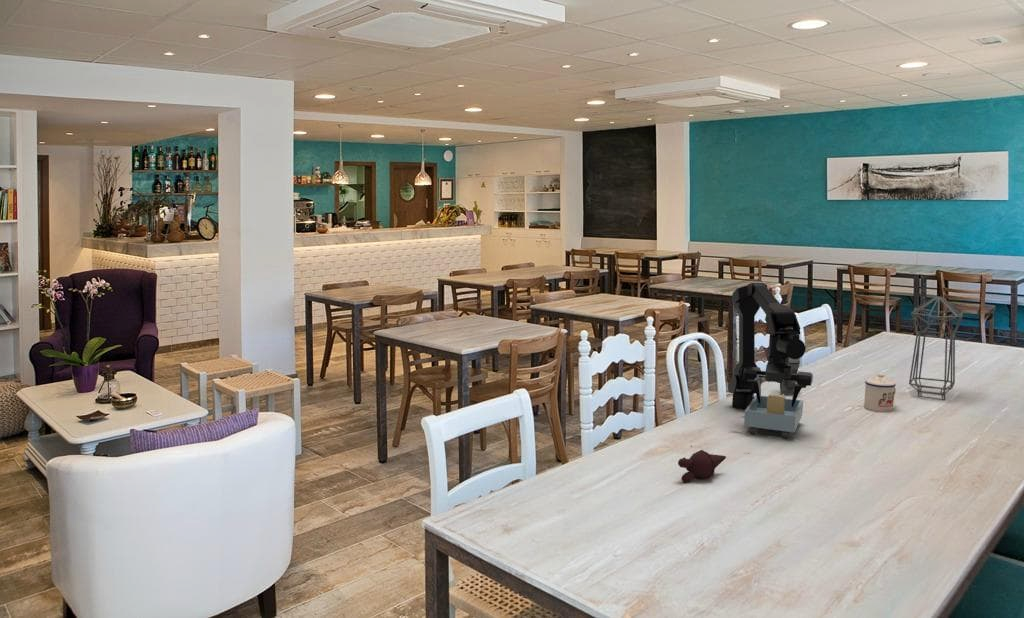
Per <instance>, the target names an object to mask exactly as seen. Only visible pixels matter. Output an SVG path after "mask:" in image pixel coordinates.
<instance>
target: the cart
mask: <svg viewBox="0 0 1024 618" xmlns="http://www.w3.org/2000/svg"><path fill="white" fill-rule="evenodd" d="M768 396H769V395H761V402H760V403H758V399H757V396H756V395H754V399H753V400H752V401H751V403H750V404H749V406H748V407H747V408H746V410H744V416H745V418H743V420H744V421H743V422H744V423H743V426H745V427H748V429H747V431H748V432H747V433H750V434H752V435H751V436H754V434H758V433H757V432H758V429H763V430H773V431H779V432H780V431H781V434H780V435H781V436H780V437H782V438H784V439H788V438H789V439H791V435H792V433H795V432H796V431H797V427H798V426H799V425H798V423H800V421H801V419H802V416H803V408H804V400H802V399H796V401H795V404H794V406H793V407H792V399H793V398H786V397H785V410H784V415H783V414H775V413H767V398H768Z"/></svg>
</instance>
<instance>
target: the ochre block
mask: <svg viewBox="0 0 1024 618" xmlns="http://www.w3.org/2000/svg"><path fill="white" fill-rule="evenodd" d="M767 396H768V398H767V413H775V414H783V415H784V410H785V398H786V395H777V394H768V395H767Z"/></svg>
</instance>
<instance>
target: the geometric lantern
mask: <svg viewBox="0 0 1024 618" xmlns="http://www.w3.org/2000/svg"><path fill="white" fill-rule="evenodd" d="M933 302H934V304H933V306H932V307H931V309H926V307H928V306H929V305H930V304H932V303H933ZM941 305H942V308H943V310H944V311H940V310H941V309H940V308H941V307H940V306H941ZM935 307H936V308H935ZM946 308H947V309H948V310H947V309H946ZM934 309H935V310H934ZM919 312H923V313H919ZM932 313H935V315H932ZM948 313H950V314H949V315H947V314H948ZM941 314H944V316H940V315H941ZM963 314H964V310H962V309H960V308H959V307H957V306H956V305H954V304H953V303H951V302H950V301H948V300H947V299H945V298H944V297H943V296H934V297H932V298H930V299H929V300H927V301H925V302H923V303H921V304H920V305H918V306H916V307H914V308H913V311H912V312H911V313H910V315H911V317H912V319H913V322H914V328H915V330H914V331H915V341H914V342H915V343H914V348H913V355H912V361H911V366H910V367H911V368H910V374H909V381H908V385H910V386H911V387H912V388H914V389H915V390H916V391H917V394H916V395H917V397H920V398H925V399H932V400H933V399H934V400H940V401H945V400H946V394H947V393H948V392H949V391H950V390H952V389H953V388H954V386H955V381H956V368H955V367H956V334H957V332H958V330H959V327H960V325H961V324H962V320H963ZM922 316H924V317H927V320H925V319H924V318H923V317H922ZM918 318H919V319H920V320H921V321H923V323H926V324H927V326H926V327H925V328H924V329H923V330H922V327H921V325H920V322H919V320H918ZM930 318H932V321H931V320H930ZM957 318H958V320H957V322H956V327H955V329H954V331H953V332H952V330H951V328H950V327H949V325H948V323H947V322H949V321H953V320H955V319H957ZM935 320H937V323H934V321H935ZM940 321H941V322H940ZM944 323H945V325H946V327H947V329H948V330H949V332H946V331H945V330H944V329H943V327H942V324H944ZM917 324H918V326H919V329H920V330H918V327H917ZM931 326H939V328H940V329H941V332H940V331H939V332H938V331H931V330H929V328H930V327H931ZM928 330H929V331H928ZM926 333H932V334H943V335H944V337H943V336H932V335H926ZM922 334H923V335H922ZM947 335H950V337H948V336H947ZM921 337H923V339H922V347H921V348H922V350H921V356H920V346H921ZM926 338H935V339H945V348H944V349H945V351H944V379H939V378H938V379H937V378H929V377H928V378H926V377H921V375H922V367H923V360H924V351H925V344H926V343H925V342H926ZM948 340H949V348H948ZM948 349H949V350H948ZM919 357H920V359H919ZM919 360H920V361H919ZM947 361H948V362H947ZM919 362H920V364H919ZM918 373H919V374H918ZM949 378H950V379H949ZM921 380H924V381H925V380H926V381H934V382H943V386H942V387H939V386H931V385H926V384H925V385H923V384H922V382H921ZM913 381H914V383H913ZM918 383H919V384H918ZM948 383H950V384H949V385H948V386H947V384H948ZM922 388H923V389H924V388H925V389H937V390H940V392H934V391H933V392H932V391H925V390H922ZM923 393H925V394H931V395H939V396H941V397H933V396H924V395H922V394H923Z"/></svg>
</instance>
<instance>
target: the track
mask: <svg viewBox="0 0 1024 618" xmlns="http://www.w3.org/2000/svg"><path fill="white" fill-rule="evenodd" d="M735 417H736V418H742V419H744V418H745V415H738V414H737V415H735ZM798 426H806V424H805V423H800V422H799V423H798ZM724 432H725V433H733V434H740V435H747V436H756V437H761V438H762V437H763V438H769V439H777V440H784V441H792V442H799V439H795V438H788V439H784V438H782V436H773V435H767V434H766V435H765V434H758V433H756V434H754V435H752V434H750V433H749V432H744V431H735V430H728V429H725V430H724Z"/></svg>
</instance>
